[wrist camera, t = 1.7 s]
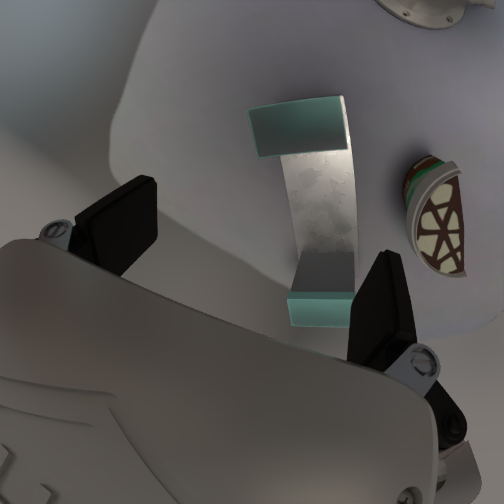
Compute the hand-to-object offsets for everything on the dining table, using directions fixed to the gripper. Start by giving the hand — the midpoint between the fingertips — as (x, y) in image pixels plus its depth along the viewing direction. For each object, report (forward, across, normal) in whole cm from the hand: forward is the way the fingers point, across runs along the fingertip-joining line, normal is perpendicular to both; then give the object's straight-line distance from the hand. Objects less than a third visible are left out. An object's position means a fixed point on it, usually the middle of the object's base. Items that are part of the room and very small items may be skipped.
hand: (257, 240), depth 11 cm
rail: (+23, -3, +6) cm, 24 cm away
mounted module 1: (+21, +1, -2) cm, 21 cm away
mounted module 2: (+21, -7, +15) cm, 27 cm away
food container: (+24, -14, +2) cm, 28 cm away
